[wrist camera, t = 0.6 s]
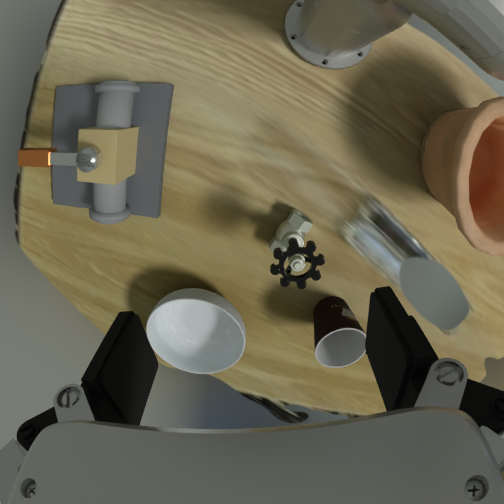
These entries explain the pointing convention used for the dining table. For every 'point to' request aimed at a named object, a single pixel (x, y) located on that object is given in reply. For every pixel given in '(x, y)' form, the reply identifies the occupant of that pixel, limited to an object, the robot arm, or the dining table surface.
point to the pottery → (469, 171)
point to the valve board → (148, 145)
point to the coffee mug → (337, 334)
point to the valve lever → (61, 158)
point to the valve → (294, 250)
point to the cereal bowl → (196, 331)
